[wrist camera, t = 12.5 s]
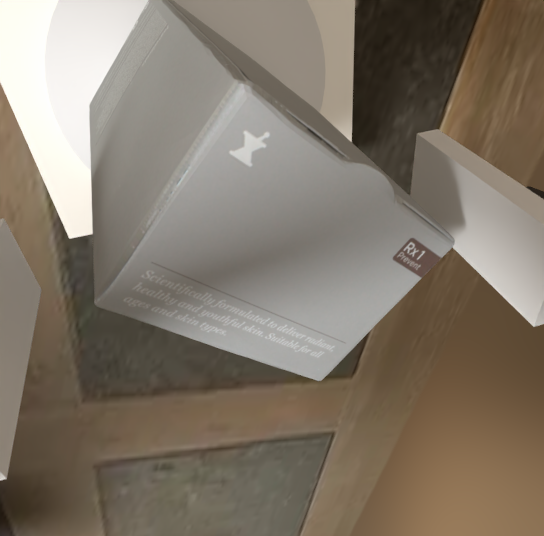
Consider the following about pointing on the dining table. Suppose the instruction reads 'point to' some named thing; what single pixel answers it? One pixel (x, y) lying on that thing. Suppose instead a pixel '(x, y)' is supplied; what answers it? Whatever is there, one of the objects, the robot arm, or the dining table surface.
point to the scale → (107, 44)
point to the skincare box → (241, 205)
